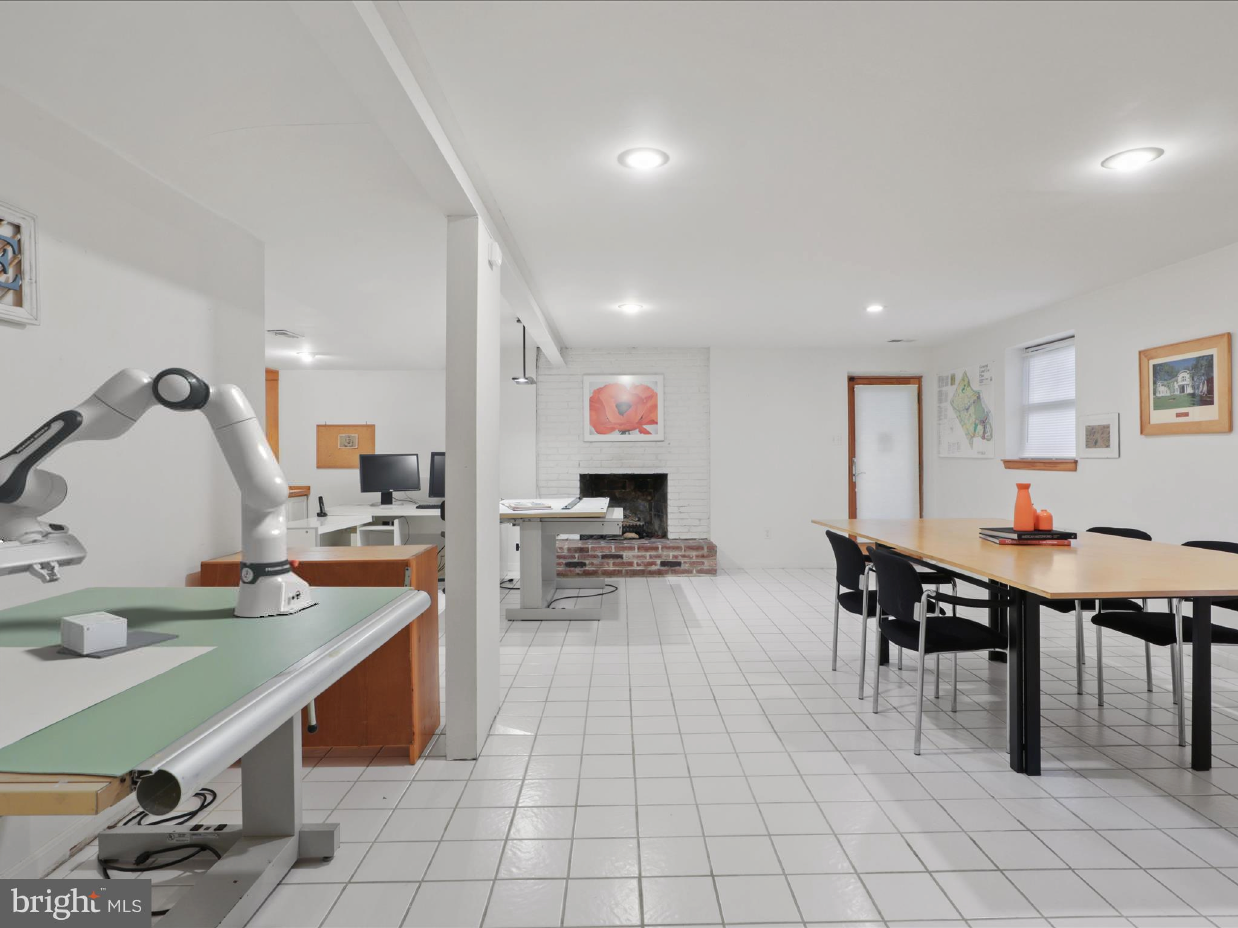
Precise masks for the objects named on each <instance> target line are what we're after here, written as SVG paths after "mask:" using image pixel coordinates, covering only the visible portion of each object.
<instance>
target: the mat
mask: <svg viewBox="0 0 1238 928" xmlns="http://www.w3.org/2000/svg"><path fill="white" fill-rule="evenodd" d="M179 637H180V635H179V634H174V633H165V632H157V631H155V632H154V631H145V630H132V631H130V632H127V638H126V647H122V648H117V649H112V650H106V651H101V652H96V653H91V654H85V655H83V654H81V653H78V652H76V651H73V650H71V649H68V648H66V647H63V648H61V649H57V650H56V653H57V652H59V653H58V654H63V653H67V654H66V655H71V654H72V656H79V655H81V656H80V657H87V656H89V658H97V659H104V658H107V656H108V657H111V656H114V655H118V653H119V654H121V653H126V652H129V651H133V650H137V649H139V648H145V647H147V646H151V645H154V644H159V643H161V642H166V641H170V640H173V639H178V638H179Z"/></svg>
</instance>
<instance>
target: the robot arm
mask: <svg viewBox="0 0 1238 928" xmlns="http://www.w3.org/2000/svg"><path fill="white" fill-rule="evenodd" d="M159 405H161V406H163V407H164V408H167V409H169V410H172V411H175V412H180V413H182V412H183V413H184V412H186V413H187V412H193V411H196V410H197V411H199V412H201V413H202V414H203V415H204V416H205V418H206V419H207V421H208V423H209V425H210V427H211V430H212V432H213V434H214V437H215V438H216V441H217V444H218V445H219V448H220V450H221V452H222V454H223V456H224V459H225V461H226V462H227V465H228V468H229V469H230V472H231V473H232V475H233V478H234V480H235V482H236V484H237V486H238V489H239V491H240V494H241V497H240V498H241V499H240V501H241V502H240V505H241V507H240V508H241V516H240V517H241V561H240V562H239V576H240V581H239V587H238V594H237V602H236V605H235V607H234V613H233V615H235V616H238V617H244V618H261V617H260V616H264V617H269V616H268V615H274V616H277V615H276V614H281V613H290V612H294V611H295V610H297V609H300V608H301V607H304V606H307V605H308V604H311V603H314V602H310V601H313V600H310V599H311V598H312V597H311V590H310V589H311V588H310V585H309V583H308V582H307V581H305V580H304V579H302V578H301V577H299V576H298V575H297V574H296V573H294V572H293V570H292V567H298V566H299V560H298V559H293V558H290V560H289V559H288V527H287V512H286V511H287V509H286V502H287V500H288V498H289V495H290V488H289V484H288V482H287V479H286V477H285V475H284V472H283V471H282V469H281V467H280V465H279V462H278V460H277V458H276V456H275V454H274V452H273V450H272V448H271V446H270V444H269V442H268V439H267V437H266V435H265V433H264V431H263V429H262V426H261V424H260V422H259V420H258V417H257V414H256V412H255V410H254V409H253V407H252V405H251V403H250V401H249V400H248V398H247V397H246V396H245V394H244V392H243V391H242V390H241V388H240V387H238V386H237V385H235V384H233V383H226V382H222V383H217V384H212V385H211V384H208V383H206V381H204V379H203V378H202V377H200V376H199V375H198V374H197V373H195V372H193V371H192V370H189V369H186V368H181V367H169V368H165V369H162V370H161V371H159V372H158V373H157V374H156V375H155V376H154V375H151V374H149V373H147V372H146V371H144V370H142V369H139V368H135V367H134V368H133V367H126V368H123V369H121V370H119V371H118V372H116V373H115V374H113V375H112V376H111V377H110V378H109V379H107V380H106V381H104V383H103V384H102V385H100V386H99V387H98V388H97V389H96V390H95V391H94V392H93V393H92V394H91V395H90V396H89V397H87V399H85V400H84V401H83V402H81V403H80V404H77V406H75V407H73V408H71V409H68V410H65V411H62V412H59V413H58V414H56V415H54V416H53V417H51V418H50V419H49V420H48V421H46V422H45V423H44V424H42V425H41V426H40V427H39V428H37V429H36V430H34V432H32V433H31V434H29V435H28V436H27V437H26V438H25V439H23V440H22V441H21V442H19V443H18V444H17V445H16V446H14V447H13V448H12V449H11V450H9V451H8V452H7V453H5V454H3V455H1V456H0V577H4V576H10V575H17V574H24V573H29V574H30V575H31V576H33V577H35V578H36V579H39V580H40V581H41V582H42V584H48V583H55V582H58V581H59V580H60V579H61V575H60V573H59V572H58V571H59V568H64V567H69V566H70V567H71V566H77V565H80V564H82V563H83V562H84V560H85V559H86V558H87V555H88V551H87V549H86V548H85V547H84V545H83V544H82V542H81V541H80V540H79V539H78V538H77V537H76V536H75V535H73V534H71V533H69V531H70V528H69V527H68V526H67V525H65V524H59V523H52V522H47V521H42V520H38V518H39V517H41V516H44V515H46V514H47V513H49V512H50V511H53V510H54V509H56V508H57V507H58V506H60V505H61V504H62V503H63V502H64V500H65V499H66V497H67V494H68V484H67V482H66V480H65V478H64V477H63V476H61V475H60V474H56V473H54V472H50V471H48V470H44V469H41V468H38V467H39V466H40V465H41V464H42V463H43V462H45V461H46V460H47V459H48V458H50V457H52V455H53V454H55V453H56V452H57V451H58V450H59V449H61V448H62V447H64V446H66V445H68V444H71V443H75V442H82V441H110V440H114V439H117V438H120V437H121V436H122V435H124V434H125V433H127V432H128V431H129V430H131V428H132V427H133V426H134V425H135V424H136V423H138V421H139V420H140V419H141V417H143V415H144V414H145V413H146V412H147V411H149V409H151V408H152V407H155V406H159ZM45 570H46V571H47V572H46V571H45ZM315 599H316V600H318V599H317V598H315ZM307 603H308V604H307Z"/></svg>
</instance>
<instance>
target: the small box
mask: <svg viewBox="0 0 1238 928" xmlns="http://www.w3.org/2000/svg"><path fill="white" fill-rule="evenodd" d="M127 629H128V619H127V618H124V617H122V616H118V615H115V614H111V613H108V612H106V611H97V612H91V613H84V614H76V615H70V616H63V617H61V618H60V646H61V647H63V648H68V649H71V650H73V651H76V652H78V653H81V654H83V655H85V654H91V653H96V652H101V651H106V650H112V649H117V648H122V647H126V638H127V633H128V632H127V631H128V630H127Z"/></svg>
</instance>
